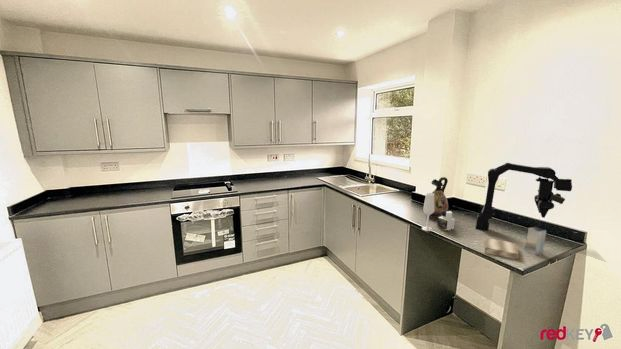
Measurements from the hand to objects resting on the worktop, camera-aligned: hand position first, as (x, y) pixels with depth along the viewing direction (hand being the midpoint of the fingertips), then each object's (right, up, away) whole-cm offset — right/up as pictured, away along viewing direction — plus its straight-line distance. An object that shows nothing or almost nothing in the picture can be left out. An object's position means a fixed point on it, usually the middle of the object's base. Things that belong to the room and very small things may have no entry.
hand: (541, 215), depth 150 cm
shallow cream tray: (-33, -17, -12) cm, 39 cm away
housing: (-17, -18, -14) cm, 28 cm away
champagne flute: (-59, -12, +18) cm, 63 cm away
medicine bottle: (-47, -12, +19) cm, 52 cm away
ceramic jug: (-41, -8, +41) cm, 59 cm away
